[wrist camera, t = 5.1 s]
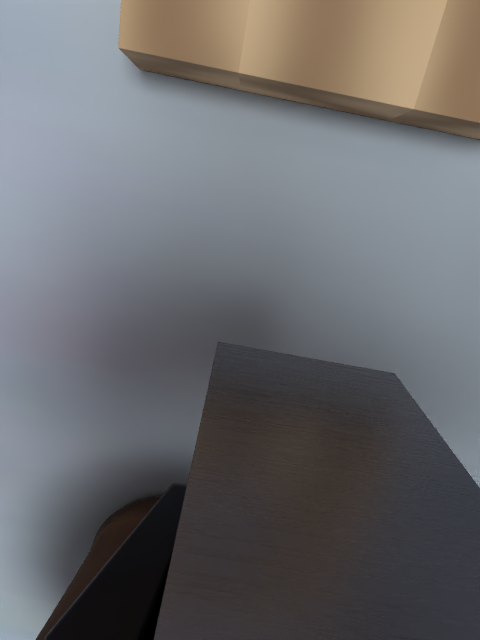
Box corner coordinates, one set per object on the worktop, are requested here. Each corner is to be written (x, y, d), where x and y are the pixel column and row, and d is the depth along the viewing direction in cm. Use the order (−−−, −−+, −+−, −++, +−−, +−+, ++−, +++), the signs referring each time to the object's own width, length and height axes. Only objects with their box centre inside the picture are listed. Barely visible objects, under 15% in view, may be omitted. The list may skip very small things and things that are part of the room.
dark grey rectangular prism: (394, 373, 8) (942, 1111, 2) (324, 559, 10) (450, 1211, 4) (218, 342, 8) (72, 1007, 2) (183, 537, 10) (61, 1171, 4)
